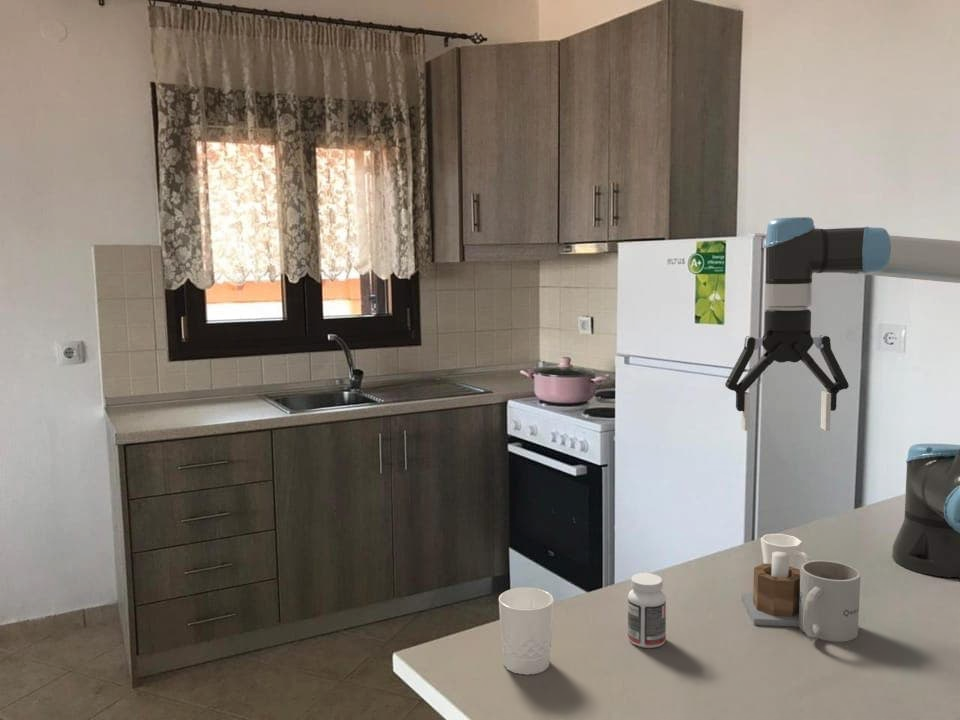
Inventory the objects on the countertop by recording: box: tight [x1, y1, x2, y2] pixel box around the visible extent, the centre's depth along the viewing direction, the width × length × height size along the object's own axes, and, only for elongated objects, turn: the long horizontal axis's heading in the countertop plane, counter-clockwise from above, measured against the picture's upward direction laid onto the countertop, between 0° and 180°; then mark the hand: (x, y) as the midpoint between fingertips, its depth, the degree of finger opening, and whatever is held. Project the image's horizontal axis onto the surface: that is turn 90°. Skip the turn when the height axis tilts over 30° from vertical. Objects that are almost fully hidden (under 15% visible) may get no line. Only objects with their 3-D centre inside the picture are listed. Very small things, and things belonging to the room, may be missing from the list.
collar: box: [752, 563, 801, 617], centre depth 133 cm, size 7×7×6 cm
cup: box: [760, 533, 811, 569], centre depth 143 cm, size 7×10×8 cm
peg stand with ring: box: [741, 552, 800, 628], centre depth 132 cm, size 10×10×10 cm
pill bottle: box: [627, 572, 667, 649], centre depth 123 cm, size 6×6×10 cm
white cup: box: [498, 587, 554, 676], centre depth 117 cm, size 8×8×10 cm
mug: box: [799, 559, 861, 642], centre depth 126 cm, size 12×9×10 cm
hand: (785, 429), depth 141 cm, fingers open, 13 cm apart
